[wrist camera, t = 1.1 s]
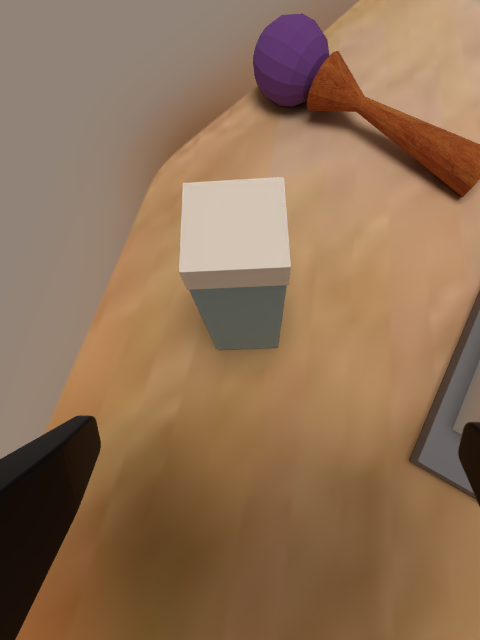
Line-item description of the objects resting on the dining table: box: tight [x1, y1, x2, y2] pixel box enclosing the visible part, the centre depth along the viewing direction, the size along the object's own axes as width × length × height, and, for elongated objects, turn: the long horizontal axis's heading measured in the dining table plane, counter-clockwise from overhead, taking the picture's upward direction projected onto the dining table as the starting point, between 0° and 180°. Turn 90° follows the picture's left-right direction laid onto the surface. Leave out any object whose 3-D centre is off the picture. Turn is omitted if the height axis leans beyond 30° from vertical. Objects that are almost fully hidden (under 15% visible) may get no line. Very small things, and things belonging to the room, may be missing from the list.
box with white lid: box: [179, 177, 291, 350], centre depth 19 cm, size 4×4×11 cm
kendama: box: [253, 14, 480, 197], centre depth 27 cm, size 6×6×20 cm
